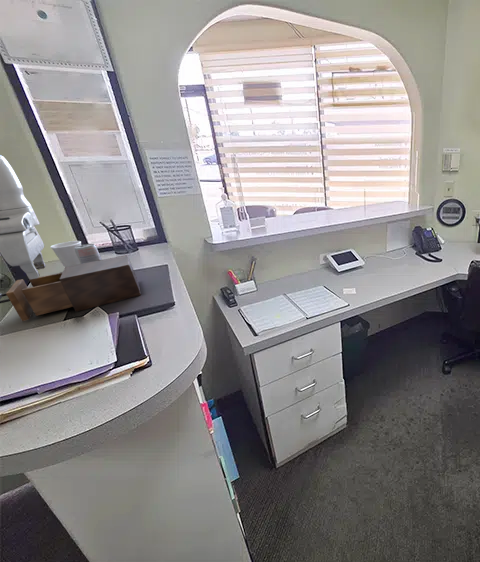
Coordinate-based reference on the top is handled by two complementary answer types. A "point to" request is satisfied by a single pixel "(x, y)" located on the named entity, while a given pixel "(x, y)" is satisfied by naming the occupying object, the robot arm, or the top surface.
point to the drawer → (38, 296)
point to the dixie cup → (67, 252)
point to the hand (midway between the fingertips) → (38, 273)
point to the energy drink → (87, 253)
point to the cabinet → (100, 282)
